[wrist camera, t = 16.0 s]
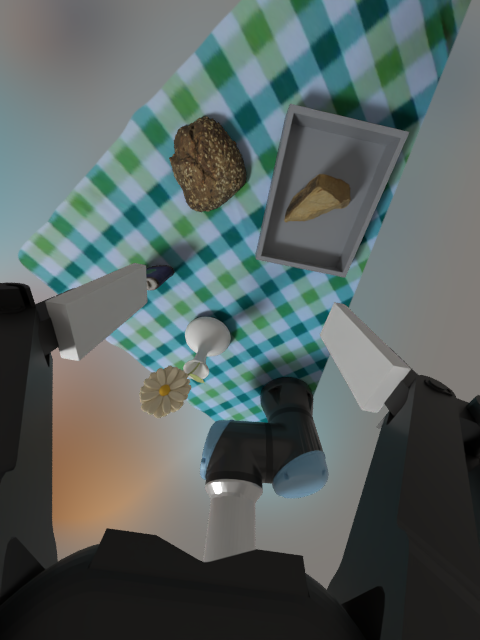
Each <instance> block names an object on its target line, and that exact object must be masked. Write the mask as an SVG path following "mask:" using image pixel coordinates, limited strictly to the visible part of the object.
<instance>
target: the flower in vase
mask: <svg viewBox="0 0 480 640" xmlns="http://www.w3.org/2000/svg"><path fill="white" fill-rule="evenodd" d="M185 338H186V342H187V344H188V346H189V347H190V348H191V349H192V350H193V351H194V352H196V353H197V354H196V356H195V358H194V359H193V360H191V361H188V362H187V363H186V364H185V365H184V370H182V371H181V369H178V368H177V367H172V366H168V367H167V368H165V369H164V370H163V369H162V368H159V369H158V370H157V372H156V373H154V372H153V373H151V374H150V377H149V379H145V381H144V386H143V387H141V389H140V391H141V392H140V393H139V395H140V396H141V397H140V402H141V403H143V404H142V406H141V409H142V410H143V411H144V412H148V414H149V415H152V414H154V417H157V418H161V417H162V416H166V415H167V414H169V413H170V412H175V411H176V410H179V409H180V408H181V406H182V405H183V401H184V400H185V399H187V397H188V395H187V394H188V393H189V391H190V389H191V385H188V384H189V383H190V380H189V379H187V377H190V378H192V379H194V380H195V381H197V382H201V383H204V381H203V380H202V379H204V378H206V377H207V376H208V374H209V369H208V367H207V365H206V357H207V356H216V355H219V354H221V353H223V352H224V351H225V350H226V349H227V348H228V346H229V344H230V340H231V336H230V332H229V330H228V328H227V327H226V326H225V324H223V323H222V322H221V321H219V320H217V319H215V318H212V317H199V318H196V319H194V320H193V321H191V322H190V323H189V324H188V326H187V328H186V331H185Z"/></svg>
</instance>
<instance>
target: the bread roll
mask: <svg viewBox="0 0 480 640" xmlns="http://www.w3.org/2000/svg"><path fill="white" fill-rule="evenodd" d="M174 148H175V154H173V157H170V158H169V159H170V162H171V166H172V168H173V172H174V177H175V178H176V180H177V182H178V184H179V185H180V186H181V188H182V190H183V193H184V196H185V199H186V202H187V204H188V205H189V207H191V208H192V209H194V210H195V211H200V212H202V211H210V210H213V209H216V208H218V207H220V206H221V205H222V204H224V203H225V202H227V201H228V199H230V198H231V197H232V196H233V195H234V194H235V193H236V192H237V191H238V190H239V189H240V188H241V187H242V186H243V185H244V184H245V182H246V170H245V165H244V161H243V158H242V155H241V154H240V152H239V150H238V149H237V147H236V142H235V141H232V140H231V138H230V136H229V135H228V134H227V132H226V131H225V130H224V129H223V127H222V126H221V125H220V124H219V122H218V123H217V122H216V121H215V120H214V119H209V117H203V118H199V119H197V121H196V122H194V123H191V124H190V125H189V126H183V127H181V128H180V129H179V130H178V132H177V134H176V135H175V140H174Z"/></svg>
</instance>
